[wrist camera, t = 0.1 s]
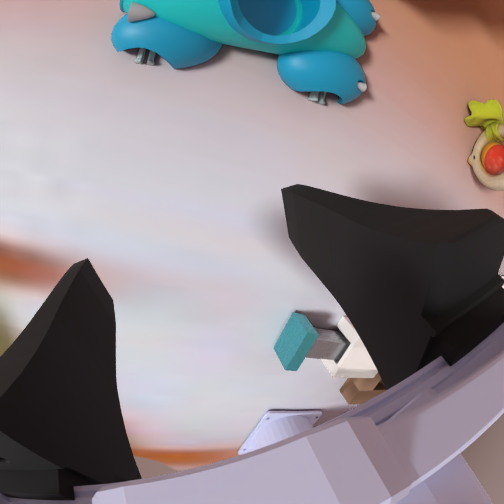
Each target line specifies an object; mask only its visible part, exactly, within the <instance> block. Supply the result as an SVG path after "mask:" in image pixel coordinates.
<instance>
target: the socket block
mask: <svg viewBox="0 0 504 504" xmlns="http://www.w3.org/2000/svg"><path fill="white" fill-rule="evenodd" d="M380 380H381V377H380V375H379V373H377V374H376V375H375V377H374V378H348V379H347V381H346V382H345V383H344V385H343V386H342V388H341V389H340V392H341V393H342V395H343V396H344V398H345V399H346V401H347V402H348V404H363V403H365V402H367V401H368V400H370V399H372V398H374V397H376V396H378V395H379V394H381V393H383V392H385V391H386V388H385V386H384V385H383V384H382V383H381V381H380Z"/></svg>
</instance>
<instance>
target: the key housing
mask: <svg viewBox="0 0 504 504" xmlns="http://www.w3.org/2000/svg"><path fill="white" fill-rule="evenodd" d="M337 327H338V328H339V329H340V331H341V332H342V333H343V334H344V335H345V337H346V338H347V339H348V340H349V342H350V343H351V344H350V345H349V347H348V348H347V350H346V352H345V353H344V355H343V356H342V358H341V359H340V361H339V360H328V359H321V360H322V362H323V363H324V365H325V366H326V368H327V369H328V371H329V372H330V374H331V375H332V377H338V378H374V377H375V375H376V374H377V373H378V371H377V369H376V367H375V365H374V363H373V361H372V359H371V357H370V355H369V353H368V351H367V349H366V348H365V346H364V344H363V342H362V340H361V339H360V337H359V335H358V333H357V332H356V330H355V328H354V327H353V325H352V323H351V322H350V320H349V318H348V317H346V316H342V318H341V320H340V321H339V323H338V325H337Z"/></svg>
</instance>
